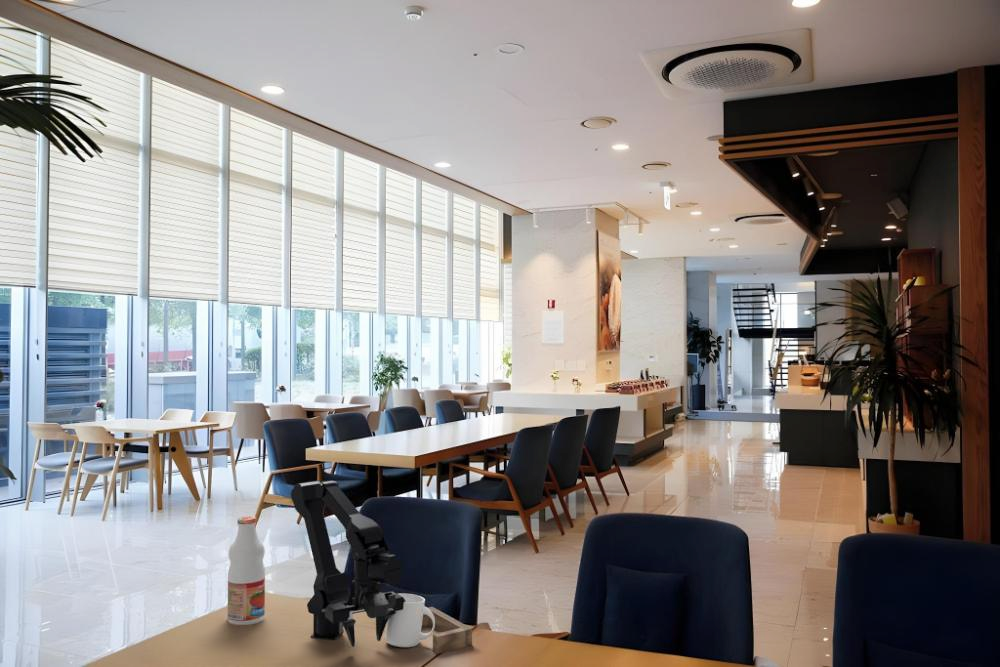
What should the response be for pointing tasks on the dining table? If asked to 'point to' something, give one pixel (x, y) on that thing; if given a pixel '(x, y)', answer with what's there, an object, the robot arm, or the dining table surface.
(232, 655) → the dining table surface
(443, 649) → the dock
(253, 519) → the fruit juice
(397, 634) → the mug
